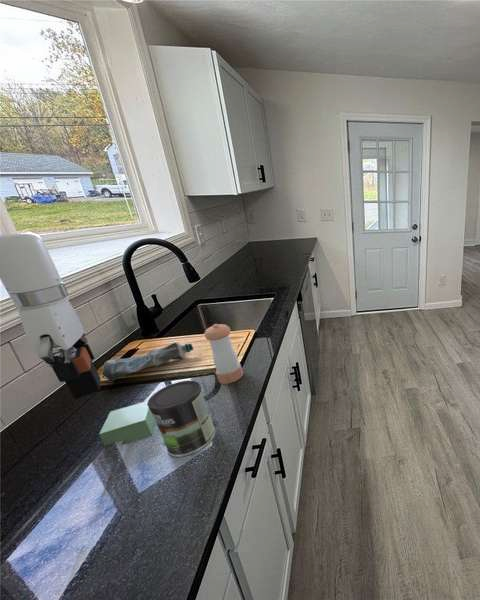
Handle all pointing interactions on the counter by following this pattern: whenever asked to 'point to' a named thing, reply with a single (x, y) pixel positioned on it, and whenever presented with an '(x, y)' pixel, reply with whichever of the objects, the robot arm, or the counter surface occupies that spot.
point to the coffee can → (182, 418)
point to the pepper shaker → (223, 354)
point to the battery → (83, 374)
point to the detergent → (144, 361)
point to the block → (128, 424)
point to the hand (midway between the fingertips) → (78, 369)
